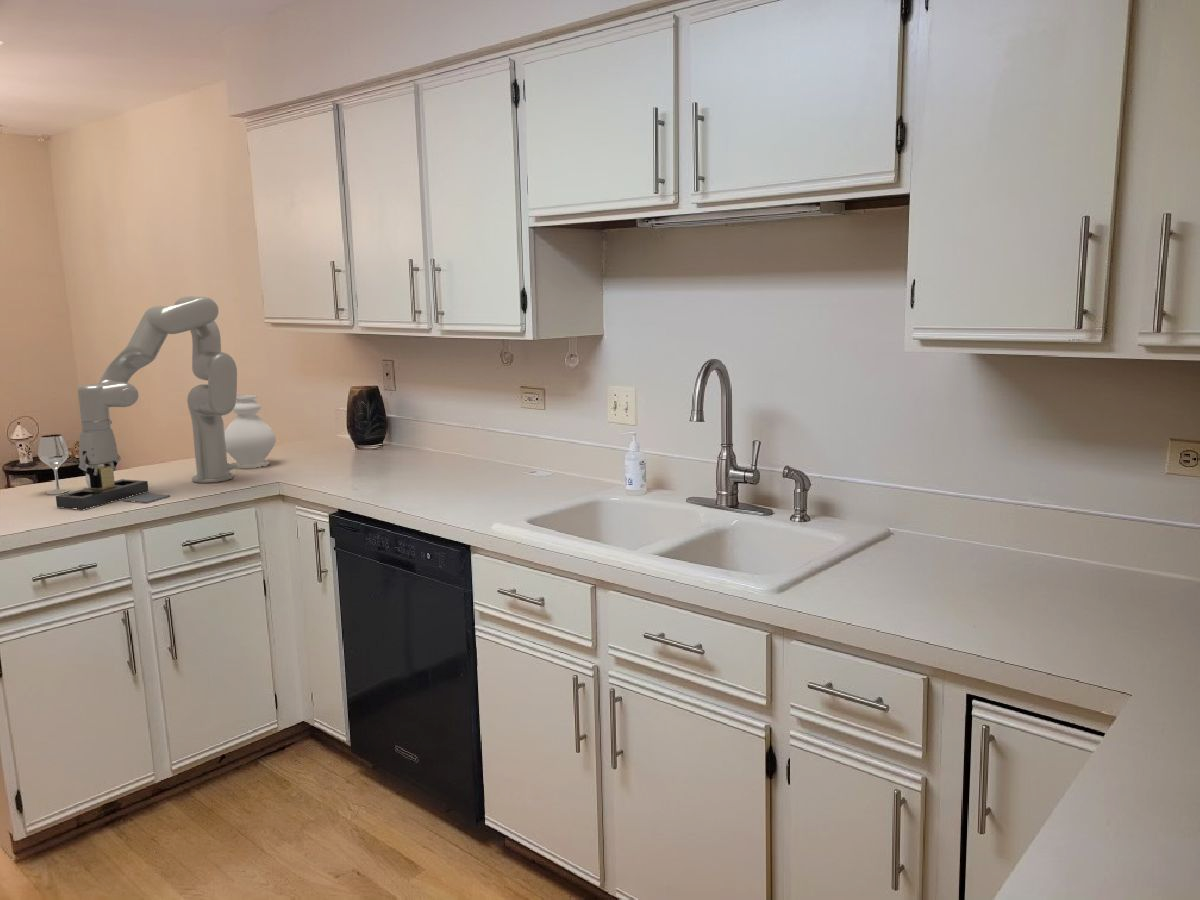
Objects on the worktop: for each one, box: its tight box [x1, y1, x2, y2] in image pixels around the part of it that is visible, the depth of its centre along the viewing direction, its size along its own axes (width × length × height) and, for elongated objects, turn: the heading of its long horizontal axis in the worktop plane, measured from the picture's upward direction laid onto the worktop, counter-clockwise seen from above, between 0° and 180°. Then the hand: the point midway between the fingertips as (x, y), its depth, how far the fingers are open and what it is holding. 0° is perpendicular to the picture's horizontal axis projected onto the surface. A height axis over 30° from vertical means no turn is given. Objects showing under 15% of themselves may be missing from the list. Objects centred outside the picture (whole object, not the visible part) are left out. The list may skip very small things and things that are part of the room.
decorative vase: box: [224, 394, 276, 469], centre depth 317 cm, size 18×18×25 cm
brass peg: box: [91, 466, 115, 491], centre depth 267 cm, size 4×4×10 cm
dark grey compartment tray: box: [55, 479, 149, 510], centre depth 268 cm, size 24×10×4 cm, turn 163°
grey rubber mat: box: [122, 492, 171, 504], centre depth 268 cm, size 9×9×1 cm
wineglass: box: [37, 433, 70, 495], centre depth 277 cm, size 8×8×18 cm
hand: (102, 485), depth 267 cm, fingers closed on brass peg, 4 cm apart
